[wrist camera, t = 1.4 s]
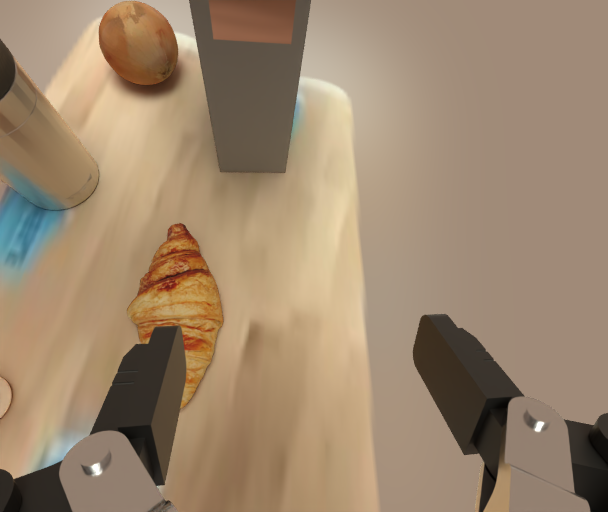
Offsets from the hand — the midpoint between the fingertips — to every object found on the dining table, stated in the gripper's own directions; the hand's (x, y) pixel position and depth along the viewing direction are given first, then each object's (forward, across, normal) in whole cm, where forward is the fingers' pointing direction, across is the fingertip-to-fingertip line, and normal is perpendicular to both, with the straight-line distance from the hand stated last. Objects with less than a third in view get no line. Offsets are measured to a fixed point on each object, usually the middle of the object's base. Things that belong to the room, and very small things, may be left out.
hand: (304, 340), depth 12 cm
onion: (+53, +16, -6) cm, 56 cm away
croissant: (+28, +10, +19) cm, 35 cm away
